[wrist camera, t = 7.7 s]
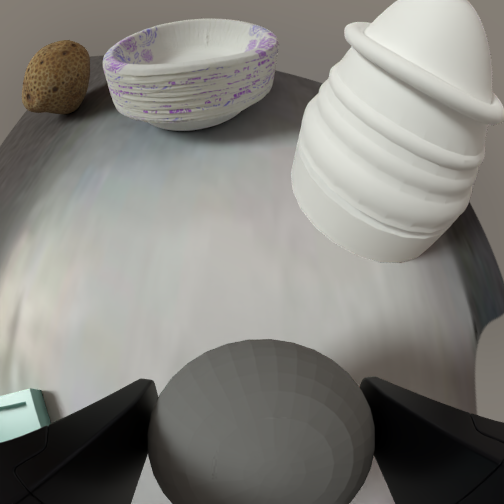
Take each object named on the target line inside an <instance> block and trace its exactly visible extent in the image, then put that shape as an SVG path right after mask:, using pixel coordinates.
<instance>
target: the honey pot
mask: <svg viewBox="0 0 504 504" xmlns="http://www.w3.org/2000/svg"><path fill="white" fill-rule="evenodd" d="M345 39H346V40H347V42H348V43H349V44H350V45H351V46H352V47H351V48H350V49H349V51H348V52H347V53H346V54H345V56H344V57H343V59H342V60H341V61H340V62H338V63H337V64H336V65H335V66H333V68H331V70H330V74H329V78H328V79H327V80H326V81H325V82H324V83H323V84H322V85H321V87H320V89H319V93H318V94H317V95H316V96H315V97H314V98H313V99H312V100H311V101H310V102H309V103H308V105H307V107H306V109H305V112H304V115H303V119H302V125H301V129H300V133H299V138H298V142H297V147H296V152H295V157H294V161H293V166H292V171H291V179H292V189H293V192H294V195H295V197H296V199H297V201H298V204H299V206H300V208H301V210H302V211H303V212H304V214H305V215H306V216H307V217H308V219H309V220H310V221H311V223H312V224H313V225H314V226H315V228H317V229H318V230H319V231H320V232H321V233H323V234H324V235H325V236H326V237H327V238H328V239H330V240H331V241H332V242H333V243H334V244H336V245H338V246H340V247H342V248H343V249H345V250H347V251H349V252H351V253H353V254H355V255H356V256H359V257H363V258H366V259H370V260H373V261H377V262H380V263H402V262H405V261H408V260H411V259H414V258H417V257H418V256H420V255H421V254H422V253H423V252H425V251H426V250H427V249H428V248H429V247H430V246H431V245H432V244H433V243H434V242H435V241H436V240H437V239H438V238H439V237H440V236H441V235H442V234H443V233H444V232H445V231H446V230H447V229H448V228H449V227H450V226H451V225H452V223H453V222H454V221H456V220H457V218H458V216H459V215H461V214H462V213H463V212H464V211H465V209H466V208H467V206H468V204H469V201H470V198H471V195H472V190H473V185H474V183H475V181H476V178H477V174H478V171H479V165H481V164H482V163H483V160H484V156H485V145H484V143H485V139H486V134H487V128H488V124H489V125H493V126H494V125H497V124H500V123H502V122H503V121H504V107H503V105H502V104H501V102H500V100H499V98H498V97H497V96H496V95H495V94H494V92H493V91H492V63H491V56H490V55H491V54H490V49H489V44H488V40H487V36H486V33H485V30H484V27H483V24H482V22H481V20H480V18H479V16H478V14H477V12H476V11H475V9H474V8H473V6H472V5H471V4H470V2H469V1H468V0H397V1H396V2H395V3H394V4H392V5H391V6H390V7H388V8H387V9H386V10H385V11H384V12H383V13H382V14H380V15H379V16H378V17H377V18H376V19H375V21H373V22H372V23H367V22H354V23H351V24H349V25H347V26H346V27H345Z"/></svg>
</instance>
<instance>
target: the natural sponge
mask: <svg viewBox="0 0 504 504" xmlns="http://www.w3.org/2000/svg"><path fill="white" fill-rule="evenodd" d="M89 78H90V58H89V54H88V52H87V50H86V49H85V48H84V47H83V46H82V45H80V44H79V43H75V42H73V41H70V40H63V41H58V42H54V43H51V44H49V45H46V46H45V47H43V48H42V49H40V50H39V51H38V52H37V53H36V54H35V56H34V57H33V58H32V59H31V61H30V63H29V65H28V67H27V70H26V72H25V77H24V81H23V91H22V102H23V104H24V106H25V108H26V109H28V110H29V111H31V112H36V113H42V112H49V113H56V114H68V113H71V112H73V111H75V110H76V109H77V108H78V107H79V106H80V104H81V103H82V101H83V99H84V97H85V95H86V92H87V88H88V83H89Z"/></svg>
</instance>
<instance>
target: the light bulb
mask: <svg viewBox="0 0 504 504" xmlns="http://www.w3.org/2000/svg"><path fill="white" fill-rule="evenodd" d="M147 438H148V456H149V460H150V464H151V467H152V471H153V474H154V477H155V478H156V480H157V482H158V484H159V486H160V488H161V490H162V491H163V493H164V494H165V495H166V497H167V498H168V499H169V500H170V501H171V503H172V504H349V503H350V502H351V501H352V500H353V498H354V497H355V496H356V494H357V493H358V491H359V490H360V488H361V487H362V485H363V484H364V482H365V479H366V477H367V475H368V473H369V470H370V468H371V464H372V460H373V455H374V450H375V426H374V422H373V418H372V413H371V409H370V407H369V405H368V402H367V400H366V398H365V396H364V394H363V392H362V390H361V389H360V388H359V387H358V385H357V384H356V383H355V382H354V380H353V379H352V378H351V376H350V375H349V374H348V373H347V372H346V371H345V370H344V369H342V368H341V367H340V366H339V365H338V364H336V363H335V362H334V361H333V360H331V359H330V358H328V357H326V356H324V355H322V354H321V353H319V352H317V351H315V350H313V349H310V348H307V347H304V346H301V345H298V344H295V343H292V342H285V341H278V340H272V339H262V340H245V341H240V342H235V343H229V344H226V345H223V346H221V347H218V348H215V349H213V350H210V351H207V352H205V353H204V354H202V355H201V356H199V357H197V358H196V359H194V360H192V361H191V362H189V363H188V364H187V365H185V366H184V367H183V368H182V369H181V370H180V371H179V372H178V373H177V374H176V375H174V376H173V377H172V379H171V380H170V381H169V383H168V384H167V385H166V387H165V388H164V390H163V391H162V392H161V394H160V395H159V397H158V399H157V402H156V404H155V406H154V408H153V411H152V413H151V417H150V422H149V427H148V433H147Z"/></svg>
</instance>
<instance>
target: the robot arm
mask: <svg viewBox="0 0 504 504" xmlns="http://www.w3.org/2000/svg"><path fill="white" fill-rule="evenodd" d="M360 389H361V390H362V392H363V394H364V396H365V398H366V400H367V402H368V405H369V407H370V409H371V413H372V418H373V422H374V426H375V450H374V456H375V458H376V461H377V463H378V465H379V467H380V470H381V472H382V474H383V476H384V479H385V481H386V483H387V485H388V488H389V490H390V492H391V495H392V497H393V499H394V502H395V504H504V423H502V422H498V421H494V420H491V419H488V418H484V417H481V416H478V415H475V414H470V413H468V412H465V411H462V410H459V409H456V408H454V407H451V406H448V405H445V404H443V403H440V402H437V401H435V400H432V399H429V398H427V397H424V396H422V395H419V394H417V393H414V392H412V391H409V390H407V389H404V388H402V387H399V386H397V385H394V384H392V383H390V382H387V381H385V380H383V379H380V378H378V377H368V378H364V379H363V380H362V382H361V385H360ZM157 399H158V394H157V390H156V386H155V383H154V381H153V380H149V379H139V380H137V381H135V382H133V383H131V384H129V385H128V386H126V387H124V388H122V389H120V390H118V391H116V392H114V393H112V394H110V395H109V396H107V397H105V398H103V399H101V400H99V401H97V402H95V403H93V404H91V405H89V406H87V407H85V408H83V409H81V410H79V411H77V412H75V413H73V414H71V415H69V416H66V417H64V418H62V419H60V420H58V421H56V422H54V423H51V424H49V427H48V426H47V425H46V426H44V427H42V428H39V429H37V430H35V431H32V432H30V433H27V434H25V435H22V436H20V437H17V438H14V439H11V440H7V441H4V442H1V443H0V504H131V502H132V499H133V496H134V493H135V490H136V487H137V484H138V481H139V478H140V475H141V472H142V469H143V466H144V463H145V460H146V458H147V455H148V438H147V433H148V427H149V422H150V417H151V413H152V411H153V408H154V406H155V404H156V402H157Z"/></svg>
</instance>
